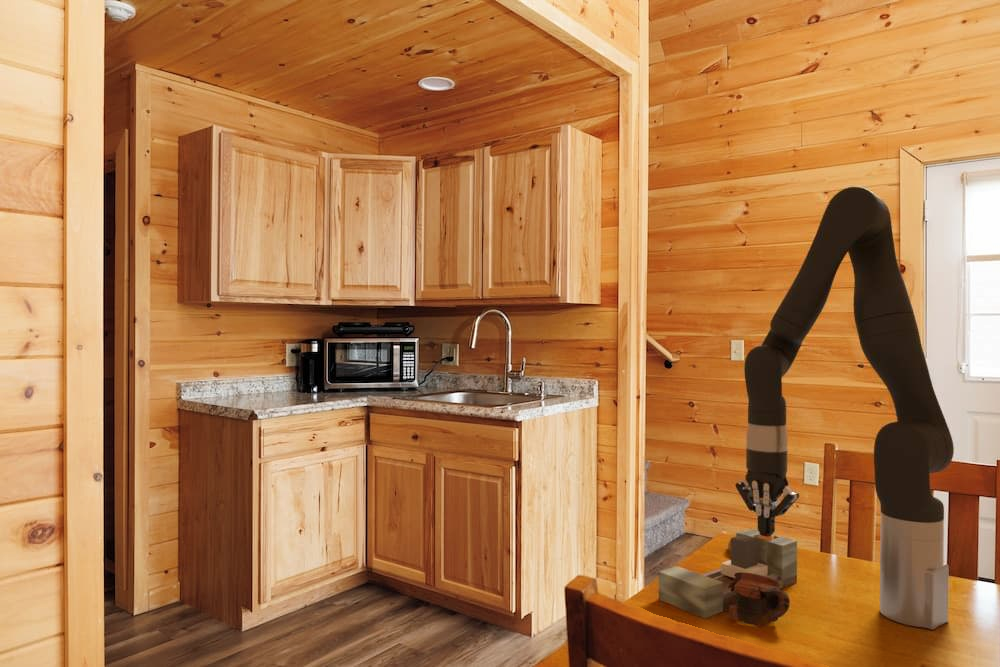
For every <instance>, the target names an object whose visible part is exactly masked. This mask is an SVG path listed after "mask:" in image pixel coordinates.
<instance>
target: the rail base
mask: <svg viewBox="0 0 1000 667" xmlns="http://www.w3.org/2000/svg"><path fill="white" fill-rule="evenodd" d="M743 534H744V535H748V536H751V537H755V538H758V534H760V532H759V531H758V529H755V528H748V529H745V530H741V531H738V532H735V537H736V536H740V535H743ZM772 535H773V536H774V539H773V540H770V541H768V540H765V539H761V538H758V551H757V563H761V564H764V565H767V566H768V576H766V577H769V578H772V579H774V580H776V581H777V582H779V583H780V587H779V590H782V589H783V588H786V587H788V586H790V585H794V584H796V583H797V582H798V540H795V539H792V538H789V537H783V536H781V535H777V534H774V533H772ZM733 580H735V578H732V577H729V576H726V575H724V574H721V568H718V569H715V570H713V571H712V570H711V571H709V572H706V573H704V574H701V573H698V572H696V571H693V570H690V569H687V568H683V567H681V566H678V565H675V566H672V567H669V568H666V569H665V568H664V569H662V570H659V571H658V600H659V601H662V602H664V603H667V604H669V605H671V606H675V607H677V608H679V609H681V610H684V611H686V612H688V613H691V614H693V615H696V616H698V617H701V618H703V619H706V618H709V617H712V616H714V615H717V614H720V613H722V612H725V611H728V610H729V606H730V605H732V606H733V605H737V597H736V594H737V593H736V592H735V591H732V592H731V591H730V590H731V588H732V587H731V588H728V586H729V584H730V583H731V582H732V581H733Z"/></svg>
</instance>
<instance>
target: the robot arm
mask: <svg viewBox="0 0 1000 667" xmlns="http://www.w3.org/2000/svg"><path fill="white" fill-rule="evenodd" d="M891 218H892V216H891V212H890V209H889V207H888V205H887V204H886V202H885V201H884V200H883V199H882V198H881V197H880V196H879V195H877V194H876V193H874V192H873V191H871V190H869V189H868V188H866V187H863V186H849V187H845V188H844V189H841V190H839V191H838V192H837V193H835V195H833V197H831V199H830V200H829V202H828V204H827V206H826V208H825V210H824V212H823V214H822V217H821V220H820V223H819V225H818V228H817V231H816V233H815V236H814V238H813V241H812V242H811V245H810V248H809V250H808V251H807V254H806V256H805V259H804V260H803V262H802V264H801V267H800V269H799V271H798V273H797V274H796V276H795V279H794V280H793V282H792V284H791V285H790V287H789V288H788V291H787V293H786V294H785V296H784V297H783V299H782V301H781V303H780V305H779V306H778V308H777V309H776V311H775V313H774V314H773V316H772V318H771V320H770V324H769V325H770V328H769V330H768V333H767V335H766V336H765V337H764V340H763V341H762V344H761V345H757V346H755V347H753V348H752V349H750V351H748V353H747V355H746V357H745V360H744V369H743V370H744V371H743V372H744V380H745V387H746V395H747V398H748V401H747V402H748V404H747V405H748V406H747V427H746V428H747V429H746V438H745V439H746V442H745V443H746V448H745V449H746V450H745V455H746V456H745V459H746V460H745V468H746V469H747V472H746V474H745V479H743V480H742V481H739V482H736V483H735V485H734V486H735V488H736V489H737V492H738V493H739V495H740V497H741V498H742V501H743V502H744V503H745V506H746V507H747V509H748V510H749V511H751V512H752V511H753V512H754V513H755V515H756V516H757V530H758V531H759V532H760V535H763V536H767V537H768V536H771V535H772V534H775V530H776V517H780V516H783V515H785V514H786V512H788V510H789V509H790V508H791V507H792V506H793V505H794V503H795V502H797V500H798V499H799V498H800V494H799V492H796V491H795V492H794V491H793V490H792V488H790V487H789V481H788V479H787V472H788V442H789V441H788V429H787V401H786V399H785V397H784V396H783V384H782V383H783V382H782V381H783V380H782V377H783V376H785V375H786V374H787V372H788V371H789V370H790V368H791V367H792V365H793V363H794V361H795V359H796V357H797V355H798V353H799V350H800V348H801V347H802V344H803V341H804V340H805V338H806V336H807V335H808V334H809V333H810V331H811V329H812V328H813V326H814V325H815V323H816V321H817V320H818V319H819V317H820V315H821V313H822V311H823V309H824V307H825V306H826V303H827V302H828V301H827V300H828V298H829V294H830V292H831V289H832V286H833V283H834V281H835V277H836V275H837V272H838V270H839V267H840V265H841V264H842V262H843V260H844V259H845V256H846V255H847V253H848V256H849V259H850V262H851V265H852V269H853V275H854V282H853V283H854V287H853V303H852V304H853V305H852V306H853V316H854V317H853V318H854V323H855V327H856V332H857V336H858V340H859V343H860V347H861V350H862V352H863V354H864V356H865V358H866V360H867V362H868V363H869V364H870V366H871V367H872V369H873V370H874V372H875V373H876V374H877V375H878V377H879V378H880V380H881V381H882V383H883V384H884V386H886V389H887V390H888V392H889V395H890V397H891V400H892V402H893V405H894V406H893V407H894V409H895V415H896V420H897V421H893V422H889V423H887V424H885V425H883V426H882V427H881V428H880V429H879V431H878V432H877V434H876V437H875V438H874V439H875V440H874V445H873V465H874V466H873V467H874V469H873V471H874V488H875V493H876V496H877V498H878V501H879V504H880V505H879V506H880V528H879V529H880V532H879V533H880V538H879V539H880V541H879V542H880V544H879V547H880V549H879V551H880V552H879V554H880V555H879V612H880V613H881V614H882V616H884V617H885V618H887V619H889V620H891V621H894V622H896V623H898V624H899V623H900V624H902V625H906V626H911V627H917V628H918V627H919V628H925V629H929V630H935V629H937V628H938V627H940V626H942V625H944V624H945V623H947V622H949V595H950V594H949V592H950V591H949V588H950V587H949V584H950V582H949V578H950V575H949V574H950V572H949V571H950V570H949V564H948V563H946V562H945V561H944V557H945V556H944V554H945V553H944V552H945V550H944V546H945V544H944V542H945V540H944V539H945V538H944V537H945V505H944V502H942V501H941V500H940V499H939V498H938V497H935V496H933V494H932V492H931V491H932V490H931V481H930V477H931V476H930V474H935V473H939V472H941V471H943V470H945V469H946V468H947V467H949V465H950V464H951V462H952V461H953V458H954V452H955V451H954V449H955V448H954V442H953V437H952V434H951V431H950V428H949V426H948V424H947V420H946V418H945V416H944V413H943V411H942V408H941V406H940V403H939V400H938V398H937V395H936V392H935V389H934V387H933V383H932V382H933V381H932V379H931V374H930V371H929V367H928V364H927V360H926V356H925V353H924V350H923V347H922V342H921V337H920V332H919V327H918V323H917V320H916V317H915V312H914V308H913V307H912V303H911V298H910V296H909V293H908V289H907V287H906V283H905V281H904V278H903V276H902V273H901V270H900V266H899V263H898V260H897V255H896V250H895V243H894V234H893V227H892V225H893V224H892V219H891ZM780 497H781V499H782V500H781V501H780Z"/></svg>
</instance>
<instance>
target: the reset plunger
mask: <svg viewBox="0 0 1000 667" xmlns="http://www.w3.org/2000/svg"><path fill="white" fill-rule="evenodd" d="M773 535H774V534H773ZM773 535H771V536H768V537H767V536H763V535H760V534H758V538H761V539H765V540H768V541H770V540H773V539H774V536H773Z"/></svg>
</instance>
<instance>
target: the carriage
mask: <svg viewBox="0 0 1000 667" xmlns="http://www.w3.org/2000/svg"><path fill="white" fill-rule="evenodd" d="M730 539H731V551H730V559H729V560H727V561H726V560H725V561H724V562H721V563H720V569H721V574H724V575H726V576H729V577H732V578H735V576H734V575H735V573H740V572H743V573H752V574H758V575H762V576H768V566H767V565H764V564H761V563H757V551H758V538H755V537H751V536H748V535H744V534H743V535H740V536H736V535H735V536H734V537H731V538H730Z"/></svg>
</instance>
